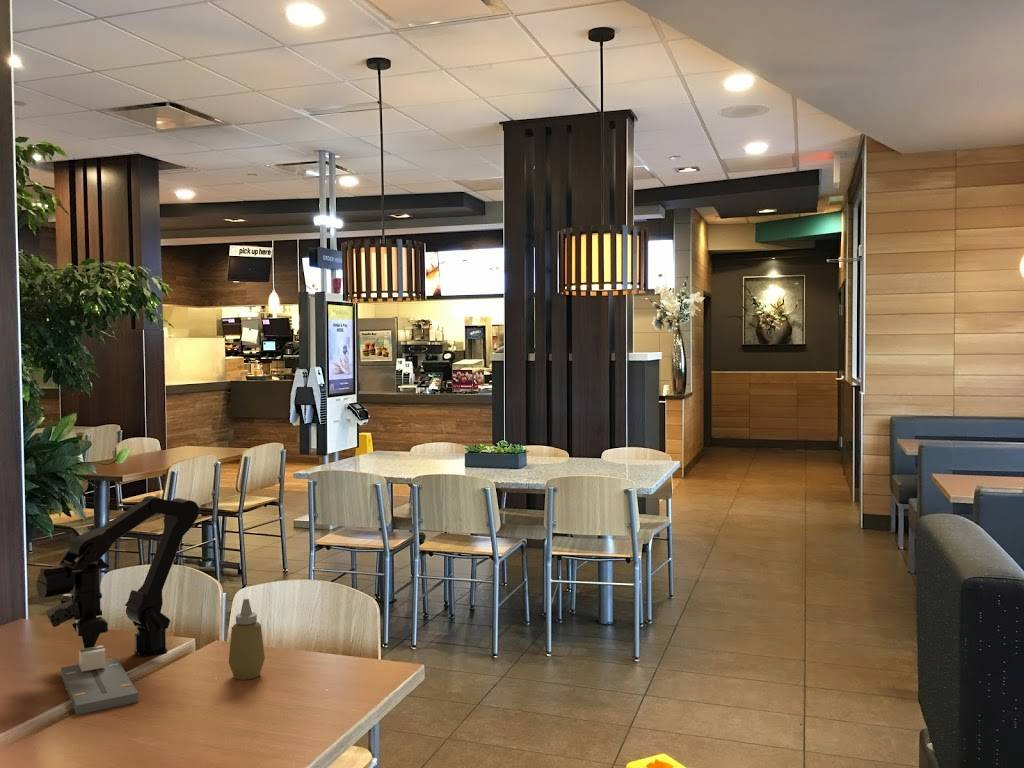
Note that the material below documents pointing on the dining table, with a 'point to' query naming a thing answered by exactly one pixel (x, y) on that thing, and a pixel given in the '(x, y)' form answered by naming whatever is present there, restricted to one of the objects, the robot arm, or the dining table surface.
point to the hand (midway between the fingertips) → (88, 654)
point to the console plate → (99, 687)
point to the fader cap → (92, 658)
